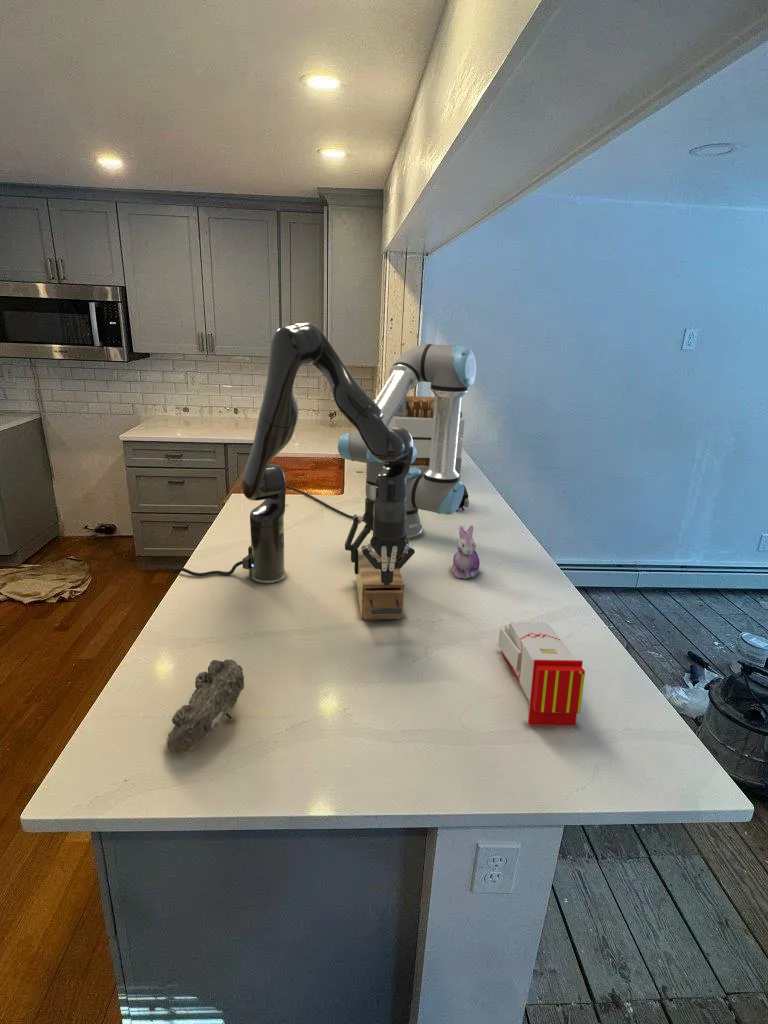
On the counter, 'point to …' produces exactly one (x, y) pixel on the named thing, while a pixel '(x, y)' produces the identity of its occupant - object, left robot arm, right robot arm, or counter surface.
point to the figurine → (466, 555)
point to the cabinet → (373, 579)
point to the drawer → (383, 603)
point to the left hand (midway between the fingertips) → (386, 583)
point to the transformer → (422, 427)
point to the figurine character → (464, 500)
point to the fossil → (206, 705)
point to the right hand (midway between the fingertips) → (376, 572)
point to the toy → (544, 672)
